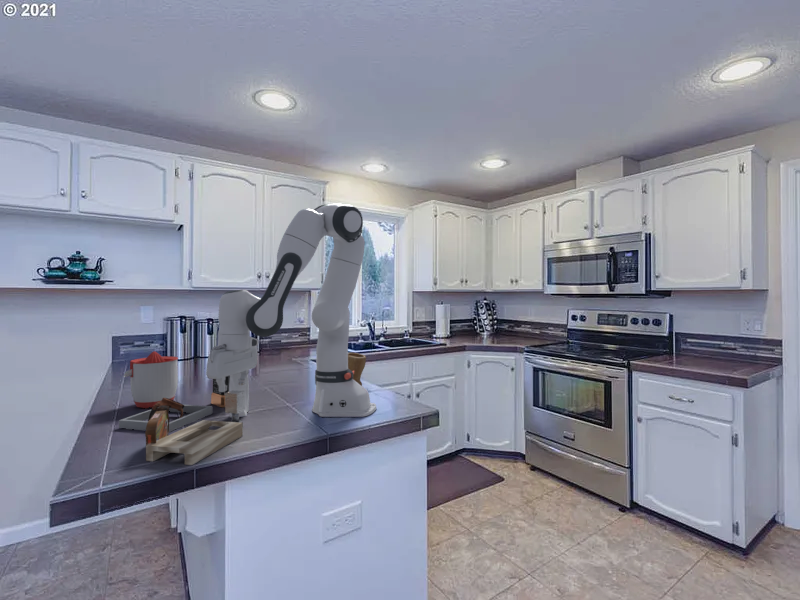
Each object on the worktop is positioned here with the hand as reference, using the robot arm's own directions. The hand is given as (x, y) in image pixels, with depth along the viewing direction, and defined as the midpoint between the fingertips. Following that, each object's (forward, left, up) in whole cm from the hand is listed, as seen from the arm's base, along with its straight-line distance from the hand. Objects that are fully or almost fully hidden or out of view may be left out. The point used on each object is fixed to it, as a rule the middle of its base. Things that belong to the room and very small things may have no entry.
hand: (232, 387), depth 120 cm
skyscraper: (+7, -12, -13) cm, 19 cm away
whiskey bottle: (+20, -25, -13) cm, 34 cm away
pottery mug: (+27, -2, -13) cm, 30 cm away
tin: (+10, +18, -12) cm, 24 cm away
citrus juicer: (+47, -17, -13) cm, 51 cm away
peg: (-1, 0, -12) cm, 12 cm away
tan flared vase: (-17, -59, -13) cm, 63 cm away
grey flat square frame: (+26, -2, -12) cm, 28 cm away
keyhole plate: (0, +16, -12) cm, 20 cm away
